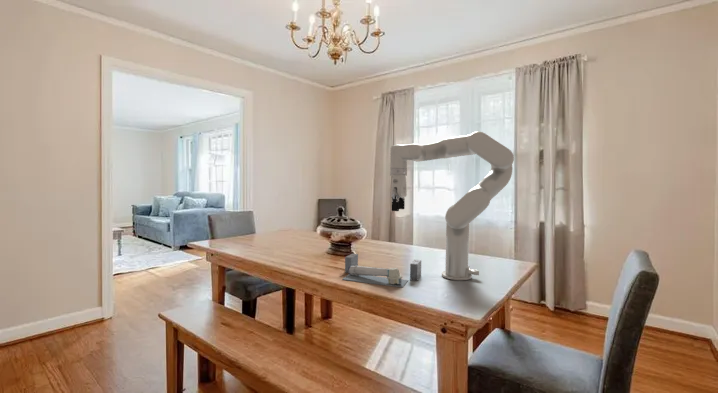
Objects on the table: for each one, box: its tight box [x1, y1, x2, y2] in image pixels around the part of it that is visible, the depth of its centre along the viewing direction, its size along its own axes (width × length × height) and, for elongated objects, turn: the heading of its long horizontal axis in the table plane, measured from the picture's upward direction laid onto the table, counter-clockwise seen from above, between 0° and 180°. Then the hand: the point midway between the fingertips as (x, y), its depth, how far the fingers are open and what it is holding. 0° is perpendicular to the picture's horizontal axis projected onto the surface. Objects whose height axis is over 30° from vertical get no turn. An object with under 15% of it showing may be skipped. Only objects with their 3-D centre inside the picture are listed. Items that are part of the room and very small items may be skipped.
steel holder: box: [344, 253, 422, 282], centre depth 151 cm, size 33×8×7 cm, turn 68°
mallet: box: [347, 264, 403, 284], centre depth 142 cm, size 5×7×25 cm
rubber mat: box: [341, 273, 409, 288], centre depth 142 cm, size 26×9×1 cm, turn 68°
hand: (398, 210), depth 154 cm, fingers open, 9 cm apart
